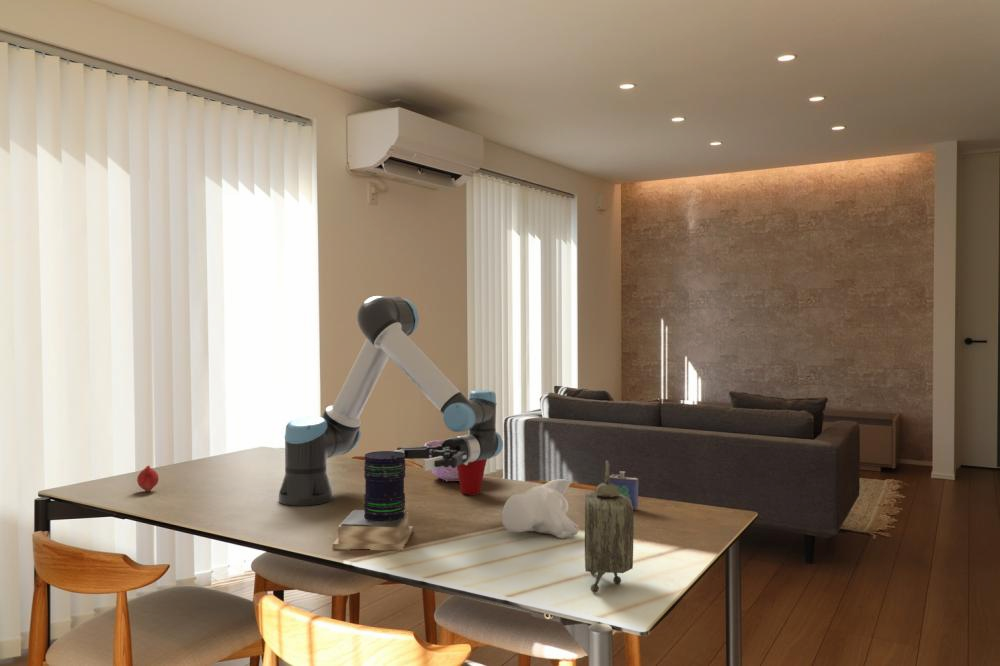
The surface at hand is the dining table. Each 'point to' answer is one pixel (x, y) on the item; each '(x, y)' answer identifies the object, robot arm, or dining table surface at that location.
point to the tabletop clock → (608, 531)
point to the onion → (147, 478)
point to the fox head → (540, 510)
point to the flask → (626, 487)
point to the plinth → (372, 533)
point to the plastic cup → (471, 476)
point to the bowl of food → (444, 472)
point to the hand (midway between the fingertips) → (403, 461)
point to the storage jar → (384, 486)
